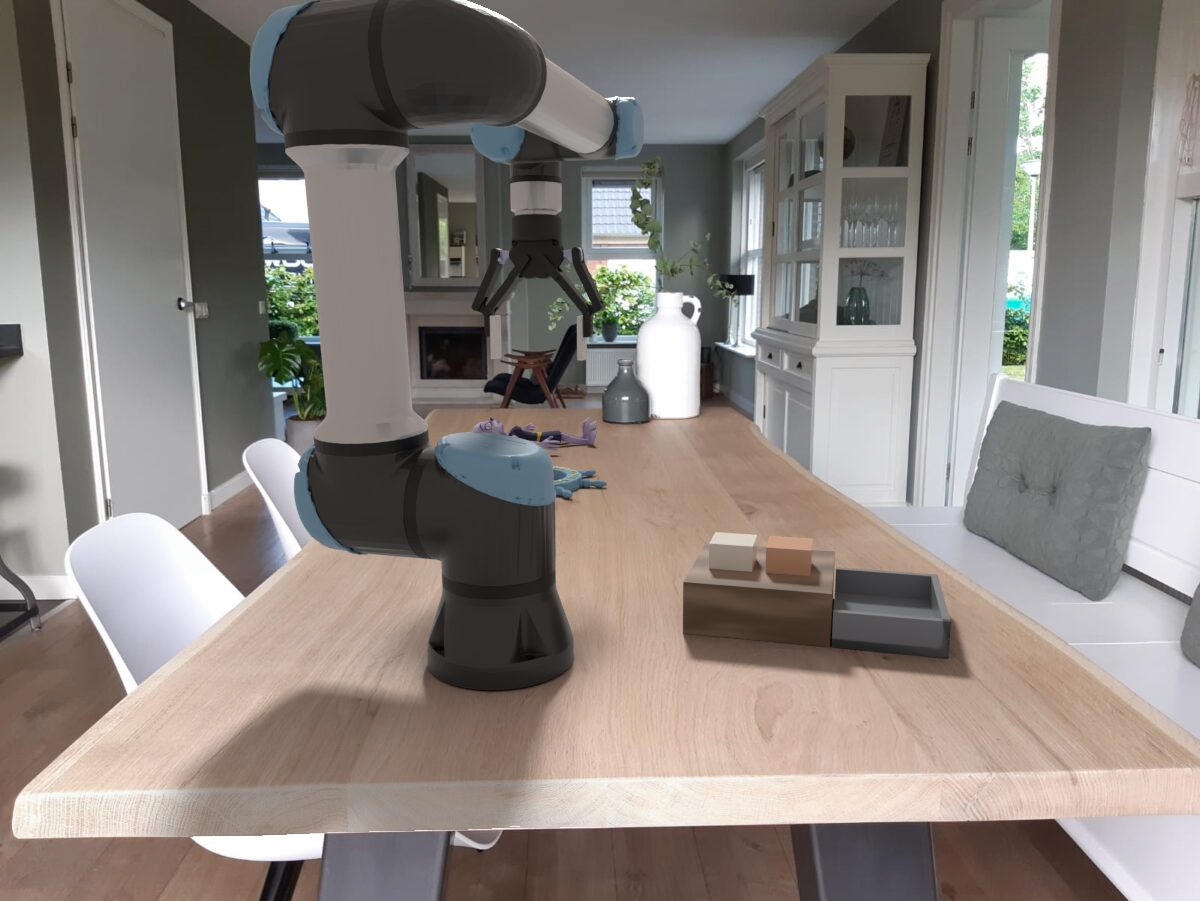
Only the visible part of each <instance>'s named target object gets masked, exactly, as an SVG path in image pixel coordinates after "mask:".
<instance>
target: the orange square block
mask: <svg viewBox="0 0 1200 901" xmlns="http://www.w3.org/2000/svg"><path fill="white" fill-rule="evenodd" d="M765 547H766V570H765V573H775V574H788V575H802V576H810V575H811V568H812V555H813V550H814V538H811V537H810V538H809V537H807V538H806V537H796V536H793V537H792V536H781V535H779V536H777V535H770V536H769V538H768V541H767V544H766V546H765Z"/></svg>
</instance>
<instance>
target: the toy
mask: <svg viewBox="0 0 1200 901" xmlns="http://www.w3.org/2000/svg"><path fill="white" fill-rule="evenodd" d="M597 423H598V421H597V420H594V421H592V420H591V418H590V416H588V417H587V418H585V419H584V420H583V421H582V424H581V432H582V436H575V435H572V434H568V433H565V432H563V431H560V430H549V431H539V432H533V431H535V430H536V429H535V428H536V425H533V423H532V422H530V423H528V424H527V425H525V426H523V427H520V426H519V425H514V427H512V428H511V429H510V430H509V431H508V432H506V431H505V430H504V424H503V423H502V422H500V421H499V420H498V421H497V419H494V418H492V417H490V418H489V420H486V421H479V422H477V424H476V425H474V427H473V428H472V430H471V431H470V432H471V433H493V434H501V435H507V436H512V437H517V438H521V439H524V440H528V441H531V442H533V443H535V444H537V445H539V446H540V447H542V448H543V449H544V450H549V451H556V452H557V451H559V449H558V448H561V447H562V446H561V445H560V444H561V443H562V442H563V443H566V444H569V445H588V446H589V445H590V446H593V445H594V444H595V441H596V438H597V433H598V429H597V427H598V426H597V425H598V424H597Z"/></svg>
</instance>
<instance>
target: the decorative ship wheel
mask: <svg viewBox="0 0 1200 901" xmlns="http://www.w3.org/2000/svg"><path fill="white" fill-rule="evenodd" d="M596 473H597V471H596V470H594V469H587V470H584V471H583V470H581V469H577V470H576V469H573V468H569V467H563V466H557V465H556V466H555V465H553V475H554V486H555V488H556V493H557V494H556V496H558V497H561V496H562V497H564V498H565V499H568V498H569V499H570V498H572V497H573V493H572V492H573V491H576V490H579V489H580V488H583V487H584V488H589V487H596V488H604V487H606V486H607V485H608V483H607V482H606V481H604V480H602V479H596V480H590V479H589V478H590V477H593V476H594V475H596ZM584 477H588V478H584Z"/></svg>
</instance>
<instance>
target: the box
mask: <svg viewBox="0 0 1200 901" xmlns="http://www.w3.org/2000/svg"><path fill="white" fill-rule="evenodd" d="M943 593H944V592H943V590H942V586H941V583H940V579H939V574H932V573H921V572H906V571H895V570H894V571H891V570H881V569H879V570H878V569H863V568H853V567H852V568H851V567H838V566H836V567H835V578H834V598H833V608H832V627H831V635H832V636H831V648H832V649H833V648H835V649H843V650H844V649H845V650H854V651H865V652H866V651H867V652H878V653H888V654H898V655H907V656H910V655H911V656H918V657H930V658H940V659H949V657H950V656H949V655H950V643H951V642H950V640H951V639H950V638H951V624H952V622H951V618H950V614H949V611H948V606H947V603H946V599H945V596H944V594H943Z"/></svg>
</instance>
